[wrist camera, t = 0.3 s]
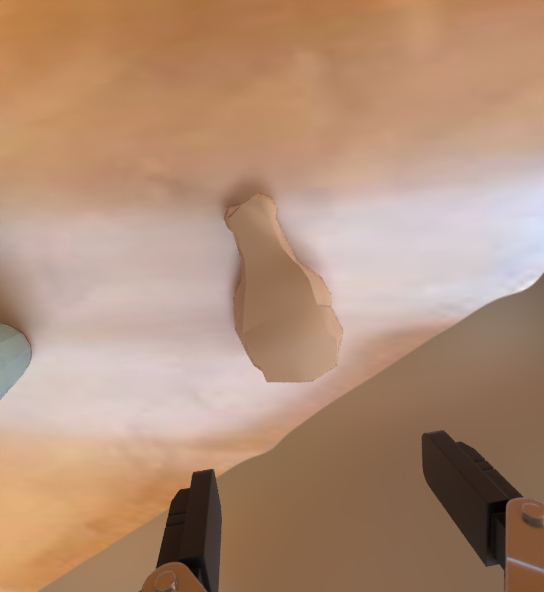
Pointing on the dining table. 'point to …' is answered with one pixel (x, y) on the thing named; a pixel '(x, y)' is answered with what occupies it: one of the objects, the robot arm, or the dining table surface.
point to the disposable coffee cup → (12, 357)
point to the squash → (280, 300)
